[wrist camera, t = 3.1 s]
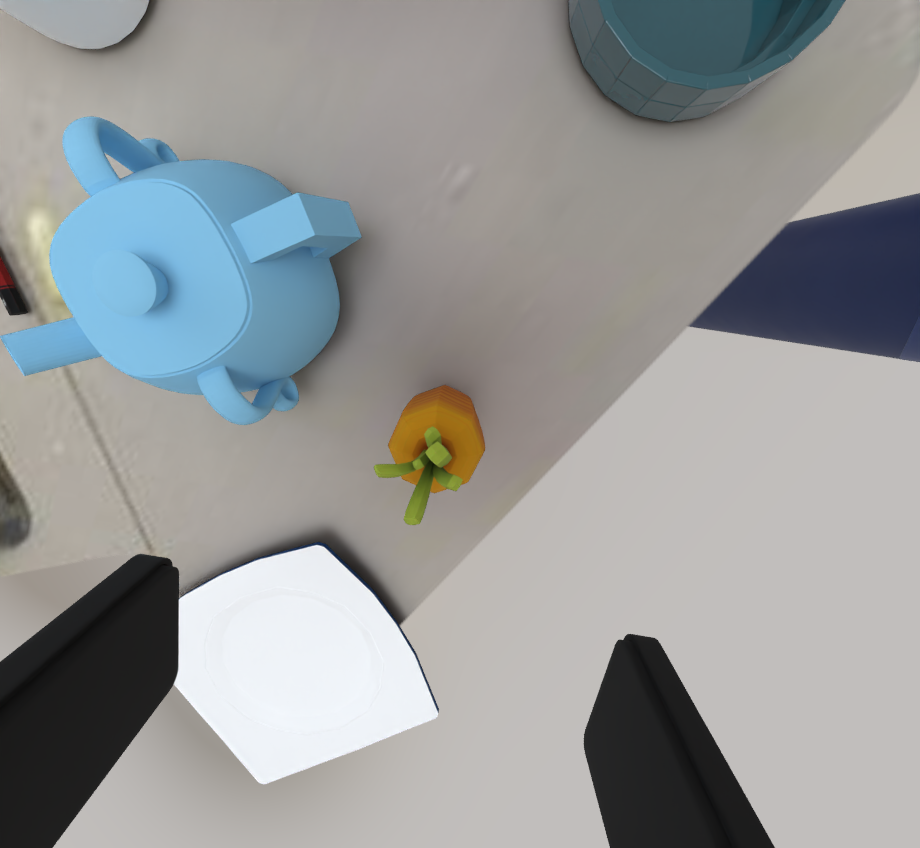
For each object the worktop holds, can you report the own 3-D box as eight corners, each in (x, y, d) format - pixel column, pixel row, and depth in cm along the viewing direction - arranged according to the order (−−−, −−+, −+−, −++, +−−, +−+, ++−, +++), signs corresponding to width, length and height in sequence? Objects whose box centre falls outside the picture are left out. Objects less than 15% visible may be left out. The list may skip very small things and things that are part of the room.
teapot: (317, 93, 27) (204, -53, 15) (426, 348, 31) (400, 380, 20) (53, 230, 29) (-209, 190, 18) (187, 447, 34) (43, 526, 22)
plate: (271, 765, 43) (258, 795, 40) (137, 607, 38) (113, 630, 35) (456, 692, 40) (455, 720, 37) (335, 510, 35) (324, 527, 32)
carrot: (445, 445, 33) (425, 563, 19) (399, 397, 32) (340, 482, 18) (495, 402, 32) (514, 492, 18) (449, 351, 31) (429, 402, 17)
